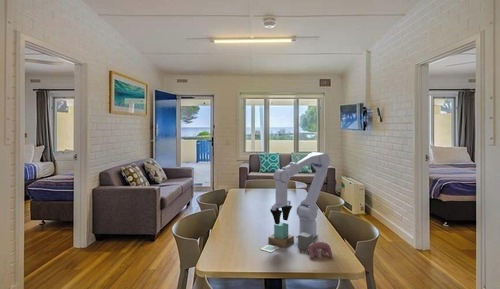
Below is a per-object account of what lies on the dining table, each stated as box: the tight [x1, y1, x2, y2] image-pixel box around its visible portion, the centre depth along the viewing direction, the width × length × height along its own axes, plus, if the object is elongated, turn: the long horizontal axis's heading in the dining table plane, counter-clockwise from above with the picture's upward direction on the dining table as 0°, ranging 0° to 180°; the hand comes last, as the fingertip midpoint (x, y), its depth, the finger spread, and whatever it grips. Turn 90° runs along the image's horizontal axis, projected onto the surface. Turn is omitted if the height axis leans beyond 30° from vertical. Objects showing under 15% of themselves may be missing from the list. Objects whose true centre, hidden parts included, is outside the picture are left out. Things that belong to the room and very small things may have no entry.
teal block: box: [273, 221, 289, 239], centre depth 150 cm, size 5×5×6 cm
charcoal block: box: [297, 232, 314, 251], centre depth 145 cm, size 5×5×6 cm
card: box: [259, 243, 280, 253], centre depth 143 cm, size 7×6×1 cm
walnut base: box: [267, 233, 295, 248], centre depth 151 cm, size 9×9×3 cm
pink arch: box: [308, 241, 333, 259], centre depth 135 cm, size 10×5×7 cm, turn 93°
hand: (281, 222), depth 150 cm, fingers open, 7 cm apart
